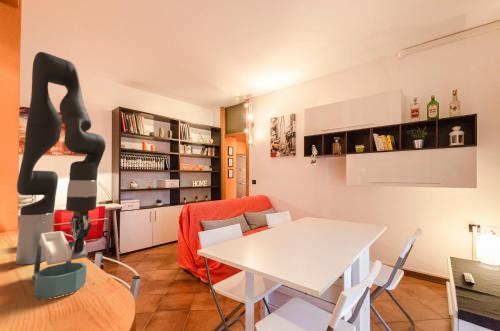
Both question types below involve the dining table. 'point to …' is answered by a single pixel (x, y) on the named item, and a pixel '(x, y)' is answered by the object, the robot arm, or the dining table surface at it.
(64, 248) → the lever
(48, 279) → the teal octagonal bowl
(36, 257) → the lever stand
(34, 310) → the dining table surface
